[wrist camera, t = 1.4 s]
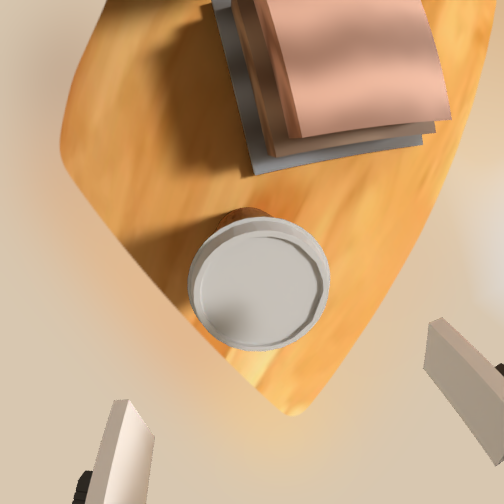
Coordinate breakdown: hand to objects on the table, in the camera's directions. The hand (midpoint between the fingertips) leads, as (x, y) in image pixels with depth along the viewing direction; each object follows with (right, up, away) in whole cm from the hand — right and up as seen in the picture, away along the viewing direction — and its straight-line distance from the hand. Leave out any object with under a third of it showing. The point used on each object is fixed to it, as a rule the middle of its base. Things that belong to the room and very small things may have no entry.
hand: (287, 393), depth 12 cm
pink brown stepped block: (+5, +23, +14) cm, 28 cm away
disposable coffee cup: (-2, +7, +19) cm, 20 cm away
